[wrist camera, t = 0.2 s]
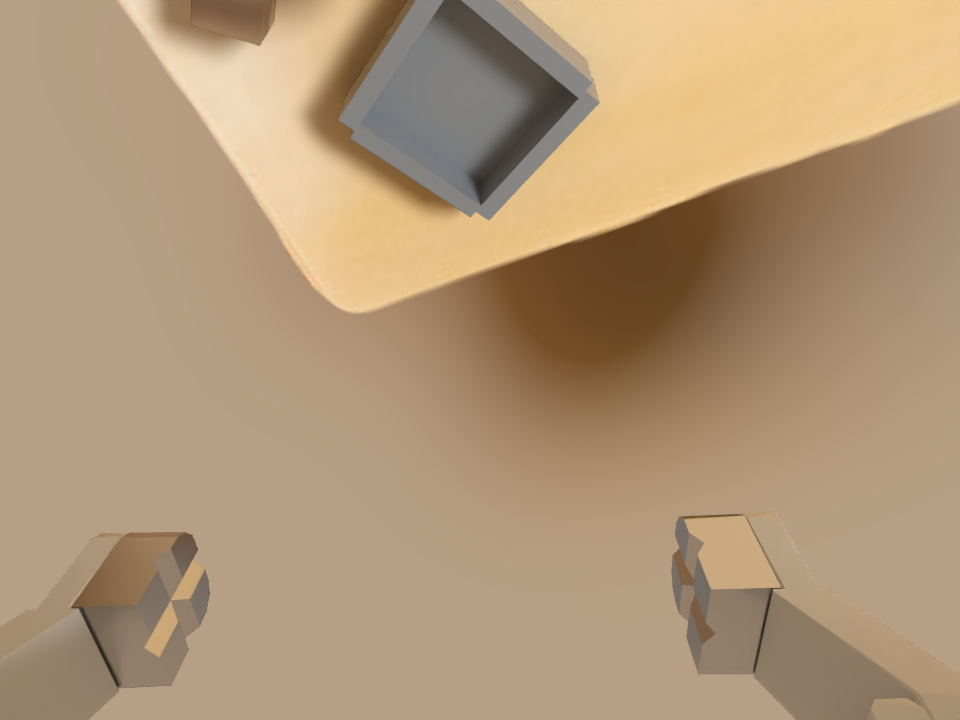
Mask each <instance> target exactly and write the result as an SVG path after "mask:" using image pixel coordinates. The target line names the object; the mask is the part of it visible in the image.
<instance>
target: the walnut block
mask: <svg viewBox="0 0 960 720" xmlns="http://www.w3.org/2000/svg"><path fill="white" fill-rule="evenodd" d="M275 5H276V0H191V25H195V26H198V27H201V28H204V29H207V30H211V31H214V32H217V33H220V34H223V35H227V36H230V37H233V38H236V39H239V40H243V41H246V42H249V43H252V44H255V45H258V46H260V45H261V43H262V41H263V40H264V38H265V36H266V35H267V33H268V31H269V30H270V28H271V26H272V25H273V23H274V17H275Z"/></svg>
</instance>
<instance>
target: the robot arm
mask: <svg viewBox="0 0 960 720" xmlns="http://www.w3.org/2000/svg"><path fill="white" fill-rule="evenodd" d="M675 537H676V539H677V542H678V545H679V548H680V549H678V550H677V552H676V553H674V555H673V558H672V584H673V585H672V586H673V592H674V597H675V601H676V605H677V608H678V612H679V614H680V615H681V616H682V617H684V618H685V619H686V620H687V621H688V629H687V641H688V644H689V647H690V650H691V653H692V656H693V659H694V662H695V665H696V668H697V672H698V674H755V675H754V678H756V680H758V681H759V683H760V684H761V685H762V686H763V687H764V688H765V689H766V690H767V691H768V692H769V693H770V694H771V695H772V696H773V697H774V698H775V699H776V700H777V701H778V702H779V703H780V704H781V705H782V706H783V707H784V708H785V709H786V710H787V711H788V712H789V713H790V714H791V715H792V716H793V717H794V718H795V719H796V720H960V674H959V673H958V672H956V671H955V670H953V669H952V668H950V667H949V666H947V665H946V664H944V663H943V662H941V661H940V660H938V659H937V658H935V657H934V656H932V655H930V654H929V653H927V652H926V651H924V650H923V649H921V648H920V647H918V646H917V645H915V644H914V643H912V642H911V641H909V640H908V639H906V638H905V637H903V636H902V635H900V634H899V633H897V632H896V631H894V630H893V629H891V628H890V627H888V626H886V625H885V624H883V623H882V622H880V621H879V620H877V619H876V618H874V617H873V616H871V615H870V614H868V613H867V612H865V611H863V610H862V609H861V608H859V607H858V606H856V605H854V604H853V603H851V602H850V601H848V600H847V599H845V598H844V597H842V596H841V595H839V594H838V593H836V592H835V591H833V590H832V589H830V588H819V586H818V584H817V582H816V581H815V579H814V577H813V576H812V574H811V573H810V570H809V569H808V567H807V565H806V563H805V562H804V560H803V558H802V557H801V555H800V553H799V552H798V550H797V548H796V546H795V545H794V543H793V541H792V539H791V538H790V536H789V534H788V533H787V531H786V529H785V527H784V526H783V524H782V522H781V520H780V519H779V517H778V516H777V515H776V514H774V513H773V512H761V513H742V514H728V515H701V516H679V518H678V521H677V523H676V531H675ZM197 551H198V548H197V545H196V543H195V540H194V538H193V535H191V534H188V533H186V532H158V533H156V532H155V533H128V534H126V533H123V534H122V533H121V534H120V533H118V534H117V533H109V534H107V533H102V534H99V535H97V536H95V537H93V538H91V540H90V541H89V542H88V543H87V545H86V546H85V547H84V549H83V550H82V551H81V553H80V554H79V555H78V556H77V558H76V559H75V560H74V562H73V563H72V564H71V565H70V567H69V568H68V569H67V571H66V572H65V573H64V574H63V576H62V577H61V578H60V580H59V581H58V583H57V584H56V585H55V586H54V587H53V589H52V590H51V591H50V593H49V594H48V596H47V597H46V598H45V599H44V600H43V602H42V603H41V604H40V606H39V607H38V608H37V609H36V610H26V611H24V612H23V613H21V614H20V615H18V616H16V617H15V618H13V619H12V620H10V621H8V622H7V623H5V624H4V625H2V626H0V720H89V719H90V718H91V717H92V716H93V715H94V714H95V713H96V712H97V711H99V709H101V708H102V706H104V705H105V704H106V703H107V702H108V701H109V700H110V699H111V698H112V697H113V696H114V695H115V694H117V693H118V692H119V690H118V688H135V687H155V686H171V685H172V683H173V681H174V679H175V677H176V675H177V673H178V671H179V669H180V666H181V664H182V662H183V660H184V658H185V656H186V654H187V652H188V650H189V649H188V646H187V643H186V639H185V638H186V637H187V636H188V635H189V634H191V633H192V632H193V631H194V630H196V629H197V628H198V627H199V626H200V625H201V622H202V620H203V618H204V616H205V613H206V611H207V606H208V600H209V595H210V591H209V580H208V577H207V574H206V571H205V569H204V568H203V567H202V566H200V565H199V564H198V563H197V562H195V561H194V560H193V558H194V556H195V554H196V553H197Z"/></svg>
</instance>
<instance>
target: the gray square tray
mask: <svg viewBox="0 0 960 720" xmlns="http://www.w3.org/2000/svg"><path fill="white" fill-rule="evenodd" d="M599 103H600V102H599V98H598V95H597V91H596V87H595V83H594V80H593V78H592V77H591V75H590V71H589V67H588V63H587V60H586V59H585V58H584V57H583V56H582V55H580V54H579V53H578V52H577V51H576V50H575V49H574V48H572V47H571V46H570V45H569V44H568V43H567V42H566V41H564V40H563V39H562V38H561V37H560V36H559V35H558V34H556V33H555V32H554V31H553V30H552V29H551V28H550V27H548V26H547V25H546V24H545V23H544V22H543V21H542V20H541V19H539V18H538V17H537V16H536V15H535V14H534V13H533V12H531V11H530V10H529V9H528V8H527V7H526V6H525V5H523V4H522V3H521V2H520V1H519V0H407V2H406V3H405V5H404V6H403V8H402V9H401V11H400V12H399V14H398V16H397V17H396V19H395V20H394V22H393V23H392V25H391V26H390V28H389V30H388V31H387V33H386V34H385V36H384V37H383V39H382V40H381V42H380V44H379V45H378V47H377V48H376V50H375V51H374V53H373V54H372V56H371V58H370V59H369V61H368V62H367V64H366V65H365V67H364V69H363V70H362V72H361V73H360V75H359V76H358V78H357V79H356V81H355V83H354V84H353V86H352V87H351V89H350V90H349V92H348V93H347V95H346V97H345V100H344V103H343V106H342V109H341V112H340V116H339V119H338V121H340V122H341V123H343V124H344V125H346V126H347V127H349V128H350V129H352V133H351V136H350V139H352V140H353V141H355V142H356V143H358V144H359V145H361V146H363V147H364V148H366V149H367V150H369V151H370V152H372V153H373V154H375V155H376V156H378V157H379V158H381V159H382V160H384V161H385V162H387V163H388V164H390V165H392V166H393V167H395V168H396V169H398V170H399V171H401V172H402V173H404V174H405V175H407V176H408V177H410V178H411V179H413V180H414V181H416V182H417V183H419V184H420V185H422V186H424V187H425V188H427V189H428V190H430V191H431V192H433V193H434V194H436V195H437V196H439V197H440V198H442V199H443V200H445V201H446V202H448V203H449V204H451V205H453V206H454V207H456V208H457V209H459V210H460V211H462V212H463V213H465V214H466V215H468V216H469V217H471V216H472V215H473V214H474V213H475V212H477V213H479V214H480V215H482V216H483V217H485V218H486V219H488V220H490V219H491V218H492V217H493V216H494V215H495V213H496V212H497V211H498V210H499V209H500V208H501V207H502V206H503V205H504V204H505V203H506V202H507V201H508V200H509V199H510V198H511V196H512V195H513V194H514V193H515V192H516V191H517V190H518V189H519V188H520V187H521V186H522V185H523V184H524V183H525V182H526V180H527V179H528V178H529V177H530V176H531V175H532V174H533V173H534V172H535V171H536V170H537V169H538V168H539V167H540V166H541V165H542V163H543V162H544V161H545V160H546V159H547V158H548V157H549V156H550V155H551V154H552V153H553V152H554V151H555V150H556V149H557V148H558V146H559V145H560V144H561V143H562V142H563V141H564V140H565V139H566V138H567V137H568V136H569V135H570V134H571V133H572V132H573V130H574V129H575V128H576V127H577V126H578V125H579V124H580V123H581V122H582V121H583V120H584V119H585V118H586V117H587V116H588V115H589V113H590V112H591V111H592V110H593V109H594V108H595V107H596V106H597V105H598V104H599Z"/></svg>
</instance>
